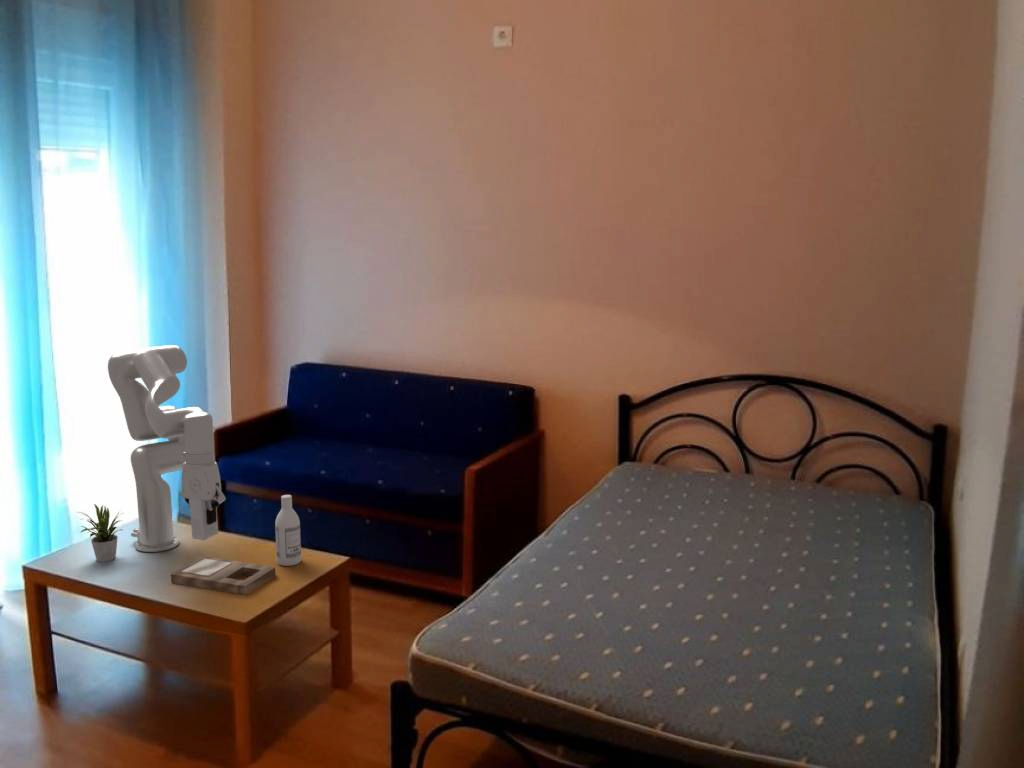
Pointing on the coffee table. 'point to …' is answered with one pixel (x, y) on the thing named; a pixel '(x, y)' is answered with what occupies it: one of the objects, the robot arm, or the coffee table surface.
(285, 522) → the bath foam
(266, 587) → the coffee table surface
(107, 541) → the house plant
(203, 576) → the walnut frame
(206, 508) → the skincare box
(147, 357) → the robot arm
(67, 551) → the coffee table surface
